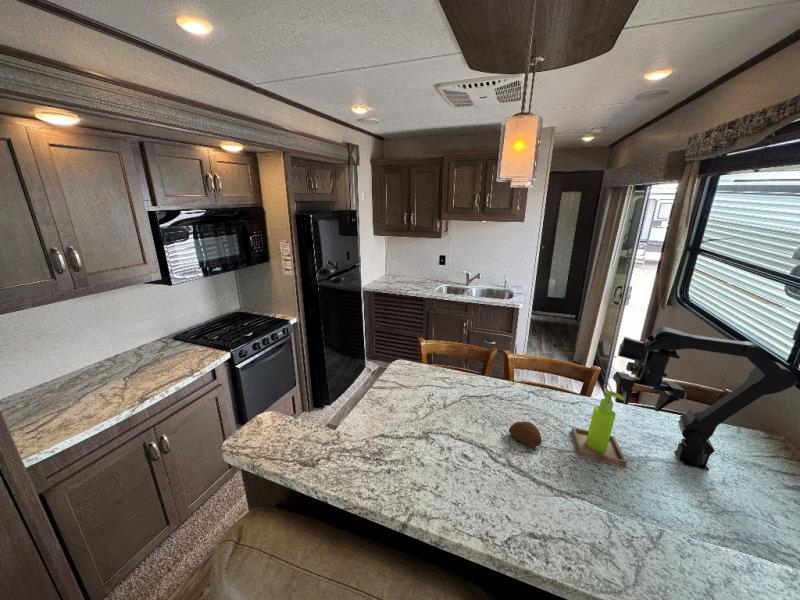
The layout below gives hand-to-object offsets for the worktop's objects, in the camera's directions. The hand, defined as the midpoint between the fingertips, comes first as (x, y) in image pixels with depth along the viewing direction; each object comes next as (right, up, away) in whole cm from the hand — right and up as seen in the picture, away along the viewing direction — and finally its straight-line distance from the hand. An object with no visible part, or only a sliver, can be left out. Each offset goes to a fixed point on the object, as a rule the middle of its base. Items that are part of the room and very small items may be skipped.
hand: (640, 407), depth 105 cm
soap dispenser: (-16, -12, -2) cm, 20 cm away
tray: (-16, -13, -2) cm, 21 cm away
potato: (-39, -11, 0) cm, 41 cm away
